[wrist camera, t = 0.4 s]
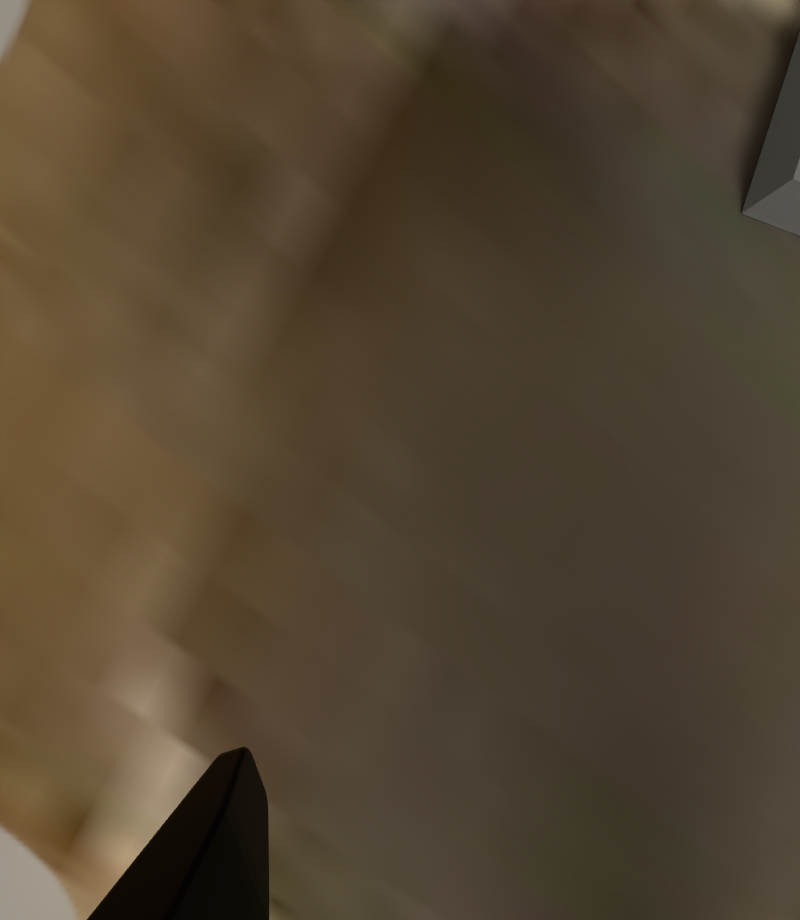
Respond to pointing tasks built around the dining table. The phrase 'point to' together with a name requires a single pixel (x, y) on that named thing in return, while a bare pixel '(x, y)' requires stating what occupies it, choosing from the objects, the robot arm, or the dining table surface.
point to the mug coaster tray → (780, 160)
